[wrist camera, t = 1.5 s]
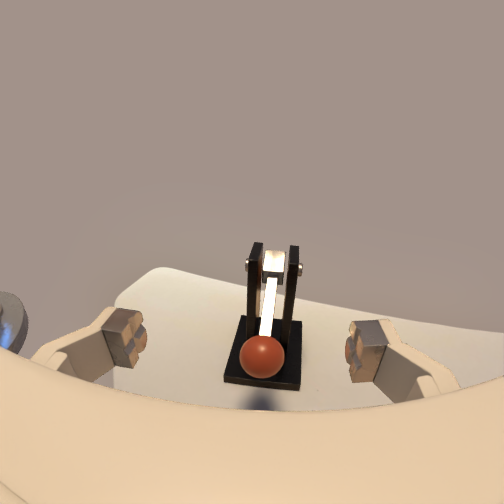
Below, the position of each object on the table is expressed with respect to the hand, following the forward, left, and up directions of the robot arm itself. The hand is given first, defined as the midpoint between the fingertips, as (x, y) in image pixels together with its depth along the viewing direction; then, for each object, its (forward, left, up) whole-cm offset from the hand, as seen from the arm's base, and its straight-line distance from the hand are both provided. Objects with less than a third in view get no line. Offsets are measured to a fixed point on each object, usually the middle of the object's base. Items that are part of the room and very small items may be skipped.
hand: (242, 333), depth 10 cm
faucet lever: (-2, +15, -11) cm, 19 cm away
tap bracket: (-3, +18, -20) cm, 28 cm away
